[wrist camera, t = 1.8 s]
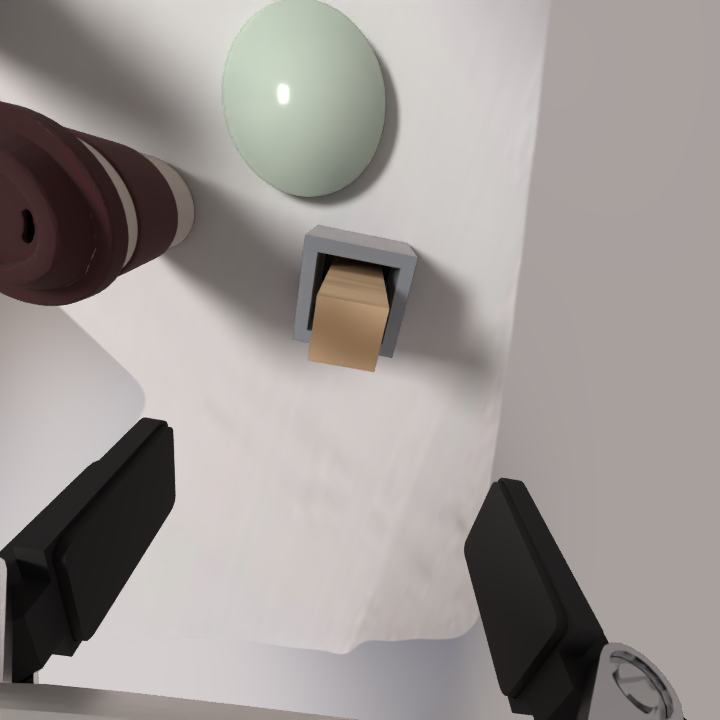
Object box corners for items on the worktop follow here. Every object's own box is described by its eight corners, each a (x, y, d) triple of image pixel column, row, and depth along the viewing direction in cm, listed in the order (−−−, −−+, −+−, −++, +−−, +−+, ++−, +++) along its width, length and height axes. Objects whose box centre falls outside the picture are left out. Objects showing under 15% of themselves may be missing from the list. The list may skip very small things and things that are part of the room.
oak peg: (336, 252, 32) (317, 295, 19) (380, 261, 32) (389, 308, 20) (330, 295, 34) (307, 360, 21) (371, 303, 34) (374, 372, 21)
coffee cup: (68, 184, 30) (-177, 182, 16) (150, 106, 27) (-61, 27, 14) (157, 283, 33) (14, 348, 20) (236, 221, 31) (135, 247, 17)
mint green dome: (230, -14, 24) (224, -23, 23) (401, 29, 25) (403, 21, 24) (225, 179, 30) (220, 179, 28) (367, 209, 30) (367, 210, 29)
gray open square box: (317, 224, 31) (305, 234, 25) (407, 243, 31) (417, 257, 25) (306, 311, 34) (292, 339, 28) (387, 327, 35) (391, 357, 29)
